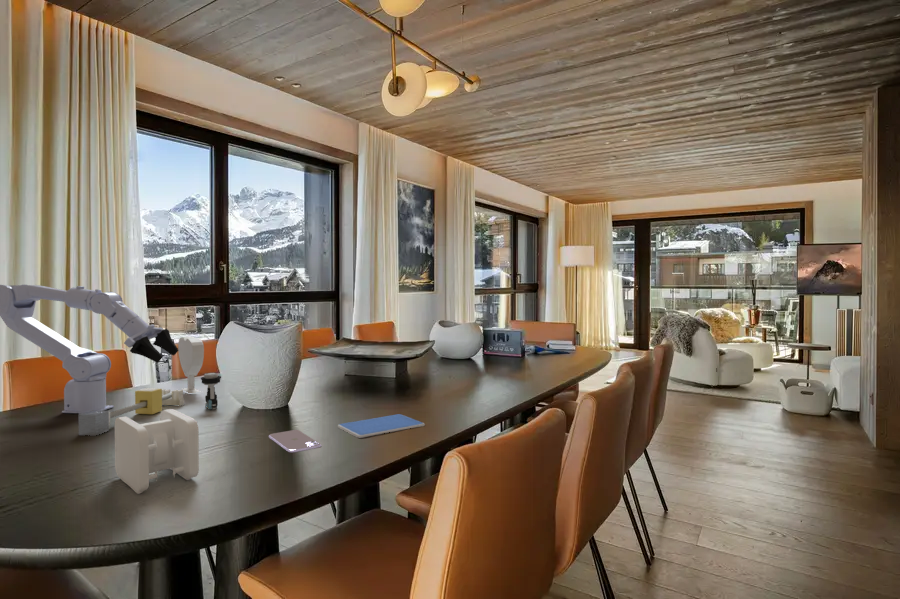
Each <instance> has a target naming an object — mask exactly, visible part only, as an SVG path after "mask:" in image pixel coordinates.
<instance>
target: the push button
mask: <svg viewBox="0 0 900 599" xmlns="http://www.w3.org/2000/svg"><path fill="white" fill-rule="evenodd" d="M221 378H222V376H221V375H218V373H217V372H208V373H207V372H206V373H204V374H203V376H201V377H200V381H201V384H203V385H205V386H207V391H206V395H205V397H204V399H205V403H204V405H205V406H204V408H205V409H208V408H209V409H213V410H217V407H218V402H219V401H218V396H217V393H216V390H215V389H216V388H215V385H218V383H221ZM206 406H207V407H208V408H207V407H206ZM209 409H208V410H209Z"/></svg>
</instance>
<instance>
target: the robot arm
mask: <svg viewBox="0 0 900 599" xmlns="http://www.w3.org/2000/svg"><path fill="white" fill-rule="evenodd" d="M40 300H45V301H53V302H54V301H55V302H64V304H65V305H66V306H67V307H69V308H72V309H73V308H74V309H79V310H86V311H92V312H93V313H94V314H99V315H103V316H104V317H106V319H108V320H109V321H110V322H111V323H112V324H113V325H114V326H116V327H117V328H118V329H119V330H121V331H122V333H124V334H125V335H126V337H127V339H126V340H124V342H123V344H124V345H126V347H128V349H130V350H129V352H131V354H135V355H139V356H143V357H145V358H147V359H150V360H151V361H153V362H155V363H160V361H161V360H162V358H163V355H162V354H161V353H160V351H159V350H157V349H156V348H155V347H156V346H157V347H159V348H161V349H162V350H164V351H166V352H167V353H168V354H170V355H171V356H175V355H176V354H177V353H179V350H178V347H177V345H176V344H175V343H174V341H173V339H172V337H171V334H170V330H169V329H168V328H165V329H164V328H162V326H160V327H157V326H155V324H150V325H149V324H148V323H147V322H146V321H145V320H144V319H143V318H142V317H140V316H139V315H138V314H137V313H136V312H135V311H134V310H133V309H131V308H130V307H129V306H127V305H126V304H125V303H124V301H123V298H122V296H121V295H120V294H119V293H116V292H114V291H107V292H103V291H102V289H95V290H93V289H87V288H85V286H82V285H76V286H75V287H70V288H69V289H68V290H66V289H59V288H54V287H50V286H44V285H40V284H38V285H37V284H35V285H34V284H17V285H16V284H15V285H13V284H12V285H11V284H9V285H7V284H0V318H1V319H2V321H3V322H4V324H5V325H6V328H9V329H10V330H12V331H13V332H15V333H16V334H18V335H20V336H21V337H23V338H24V339H26V340H28V341H29V342H30V343H33V344H34V345H35V346H37V347H39V348H41V349H42V350H44V351H45V352H46V353H49V354H50V355H51V356H53V357H55V358H56V359H58V360H60V361H61V362H62V369H65V370H66V371H67V372H68V374H69V376H70V377H71V378H72V379H70V380H68V381H67V382H66V384H65V386H64V389H63V404H64V405H63V406H64V407H63V408H64V410H62V411H61V413H64V414H81V413H85V412H88V411H91V410H99V411H107V410H109V409H112V408H114V406H115V405H109V404H108V405H107V373H108V372H109V371H110V370H111V367H112V361H111V359H110V357H109V356H108V355H106V354H105V353H103V352H101V353H100V352H96V351H94V350H92V349H89V348H84V347H80V346H78V345H77V344H75V343H74V342H72V341H70V340H69V339H68V338H66V337H64V336H63V335H61V334H60V333H58V332H57V331H55V330H53V329H52V328H50V327H48V326H47V325H45V324H44V323H42V322H40V321H39V320H37V319H36V318H34V317H33V315H34V312H35V307H36V302H37V301H40ZM151 339H154V342H153V343H152V342H151V341H150V340H151Z"/></svg>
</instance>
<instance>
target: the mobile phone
mask: <svg viewBox="0 0 900 599" xmlns="http://www.w3.org/2000/svg"><path fill="white" fill-rule="evenodd" d="M268 438H269V439H270V440H272V441H273V442H274V443H276V444H277V445H278V446H280V447H281V448H282V449H283V450H285V451H287V452H288V453H298V452H303V451H308V450H311V449H313V450H314V449H319V448H320V447H322V444H321V443H320V442H318V441H317V440H315V439H314V438H312V437H310V436H309V435H307V434H305V433H304V432H302V431H301V430H299V429H292V430H287V431H281V432H274V433H270V434H269V435H268Z"/></svg>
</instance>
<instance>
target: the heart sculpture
mask: <svg viewBox="0 0 900 599" xmlns="http://www.w3.org/2000/svg"><path fill="white" fill-rule="evenodd" d="M177 345H178V347H177V348H178V350H179V351H178V357H179V363H180V367H181V369H182V371H183V373H184V376H185V377H187V387H183V388H184V389H183V388H181V389H182V390H184V391H186V392H188V393H196V392H201V390H200V389H198V388H196V387H195V381H196V380H195V379H196V378H195V376H198V373H200V371H201V369H202V367H203V363H204V360H205V359H204V358H205V357H204V356H205V346H204V341H203V340H202V339H201V338H199V337H195V336H184V337H183V336H182V337H180V338H179V339H178V344H177ZM195 388H196V389H195ZM197 389H198V390H197ZM199 390H200V391H199Z"/></svg>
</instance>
